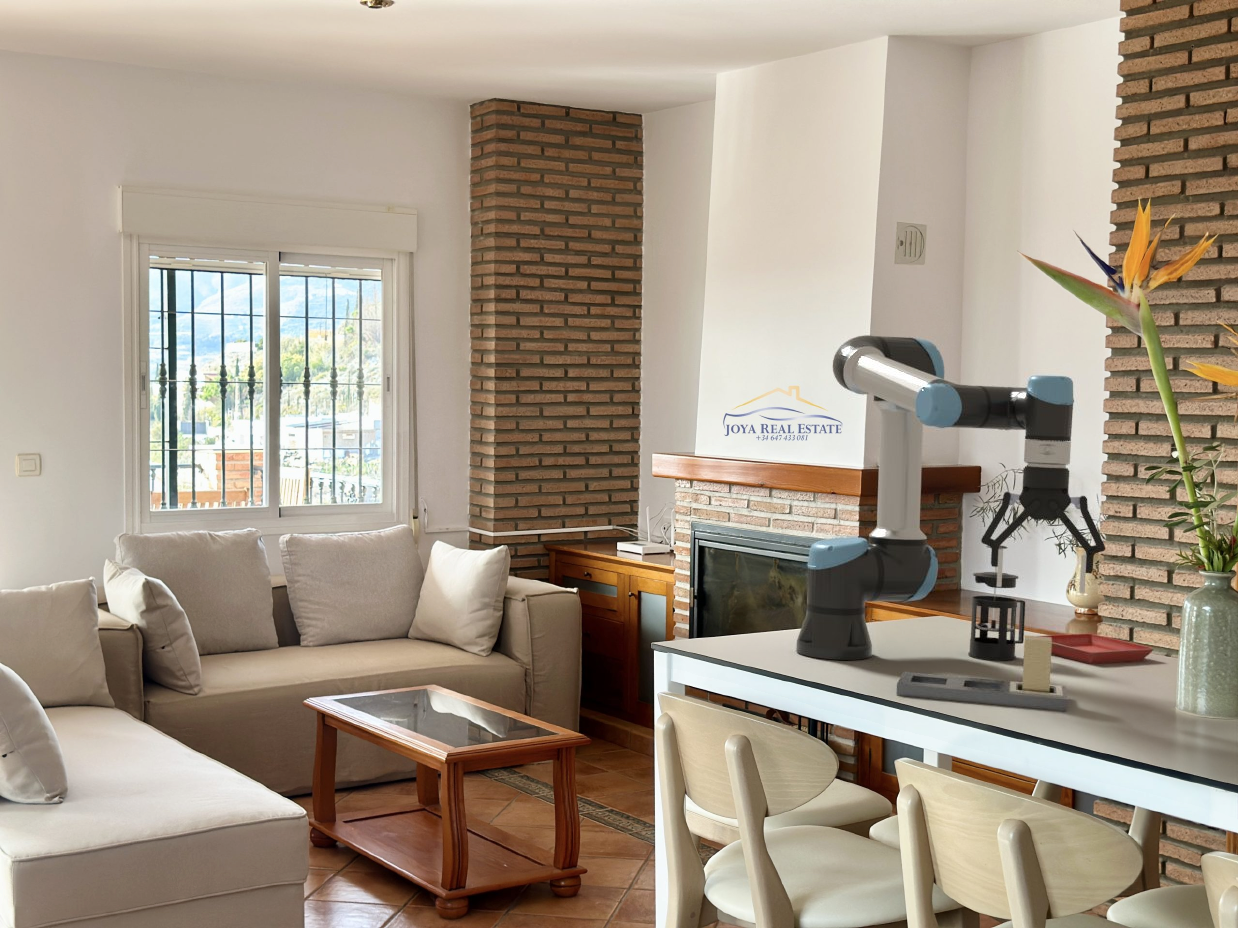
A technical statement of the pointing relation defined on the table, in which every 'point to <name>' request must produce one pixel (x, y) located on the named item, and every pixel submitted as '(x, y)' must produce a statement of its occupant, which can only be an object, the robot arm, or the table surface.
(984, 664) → the table surface
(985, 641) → the french press
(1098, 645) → the red serving tray
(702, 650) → the table surface
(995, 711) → the table surface
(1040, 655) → the peg
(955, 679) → the grey flat slotted block
